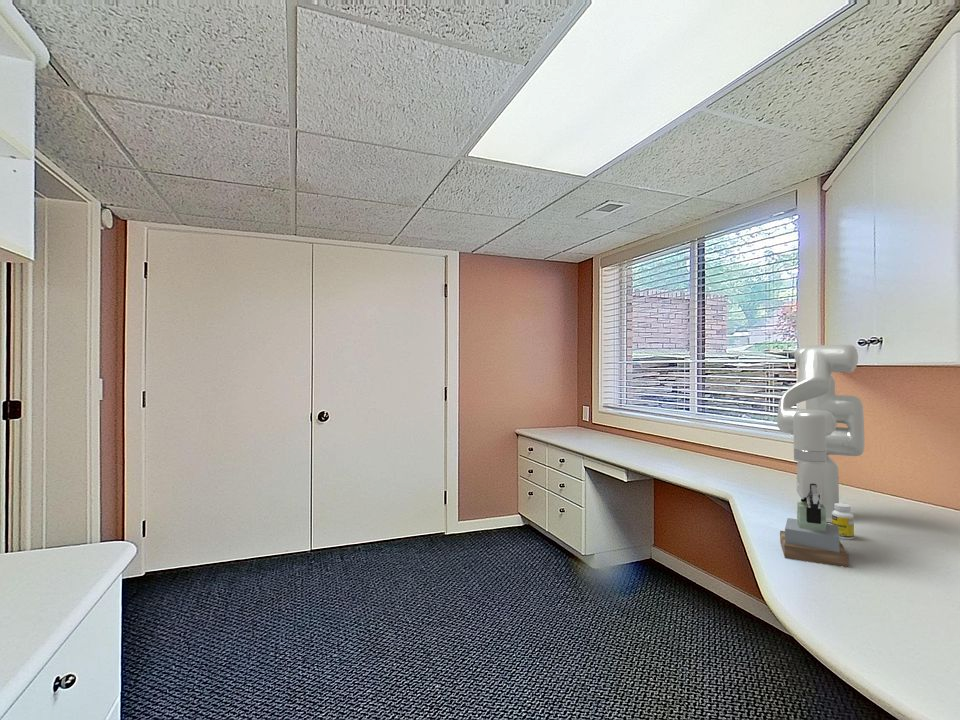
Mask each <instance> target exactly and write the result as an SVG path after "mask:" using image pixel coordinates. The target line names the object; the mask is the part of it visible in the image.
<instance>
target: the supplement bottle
mask: <svg viewBox="0 0 960 720" xmlns="http://www.w3.org/2000/svg"><path fill="white" fill-rule="evenodd" d="M851 507H852V506H851V505H850V504H846V503H841V502H839V503H835V504H834V508H835V510H834V511H833V512H832V523H831V524H832V525H838V529H839V539H841V540H845V541H847V540H848V541H850V540H853V539H854V538H855V527H854V526H855V520H854V519H855V518H854V517H855V516H854V514H853V513H852V512H851V509H852V508H851Z"/></svg>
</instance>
